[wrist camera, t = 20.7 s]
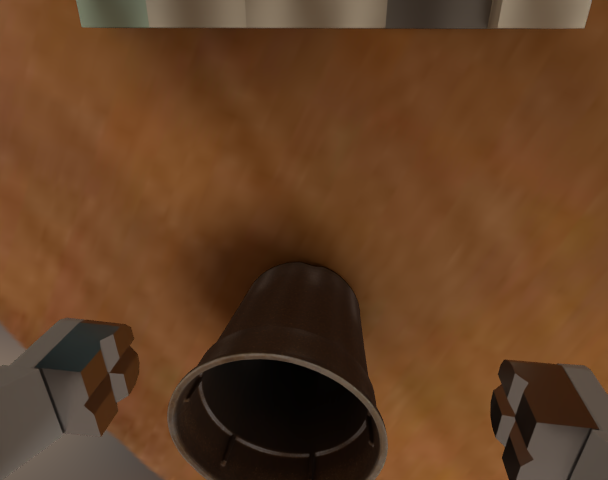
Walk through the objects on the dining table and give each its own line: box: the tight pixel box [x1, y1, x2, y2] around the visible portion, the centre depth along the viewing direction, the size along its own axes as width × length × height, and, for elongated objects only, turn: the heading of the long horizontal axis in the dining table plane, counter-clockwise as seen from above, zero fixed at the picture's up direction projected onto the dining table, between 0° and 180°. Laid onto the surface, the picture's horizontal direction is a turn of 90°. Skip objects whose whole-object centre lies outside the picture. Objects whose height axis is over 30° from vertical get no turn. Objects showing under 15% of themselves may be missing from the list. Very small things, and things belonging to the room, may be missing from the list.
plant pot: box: [168, 262, 388, 480], centre depth 37 cm, size 16×16×16 cm
